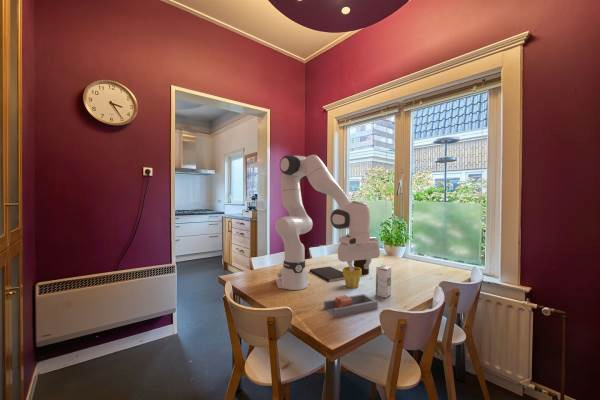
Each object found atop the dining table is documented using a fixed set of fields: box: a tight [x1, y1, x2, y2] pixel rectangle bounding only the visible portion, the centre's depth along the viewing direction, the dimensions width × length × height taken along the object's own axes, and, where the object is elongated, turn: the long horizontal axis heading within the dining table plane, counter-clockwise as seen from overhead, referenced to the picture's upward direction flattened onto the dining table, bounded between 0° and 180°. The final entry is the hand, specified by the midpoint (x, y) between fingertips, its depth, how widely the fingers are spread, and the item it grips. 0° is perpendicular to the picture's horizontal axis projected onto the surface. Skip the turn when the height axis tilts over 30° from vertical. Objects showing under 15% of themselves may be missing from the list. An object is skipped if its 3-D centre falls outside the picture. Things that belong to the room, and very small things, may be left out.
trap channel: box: [323, 293, 379, 319], centre depth 108 cm, size 9×21×4 cm, turn 114°
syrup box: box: [375, 264, 392, 299], centre depth 126 cm, size 6×6×14 cm
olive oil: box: [352, 259, 370, 276], centre depth 164 cm, size 11×11×25 cm
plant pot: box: [342, 266, 362, 289], centre depth 139 cm, size 10×10×10 cm
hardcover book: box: [309, 266, 345, 283], centre depth 159 cm, size 16×23×2 cm
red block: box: [335, 294, 353, 308], centre depth 107 cm, size 5×5×5 cm
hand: (359, 269), depth 110 cm, fingers open, 6 cm apart
